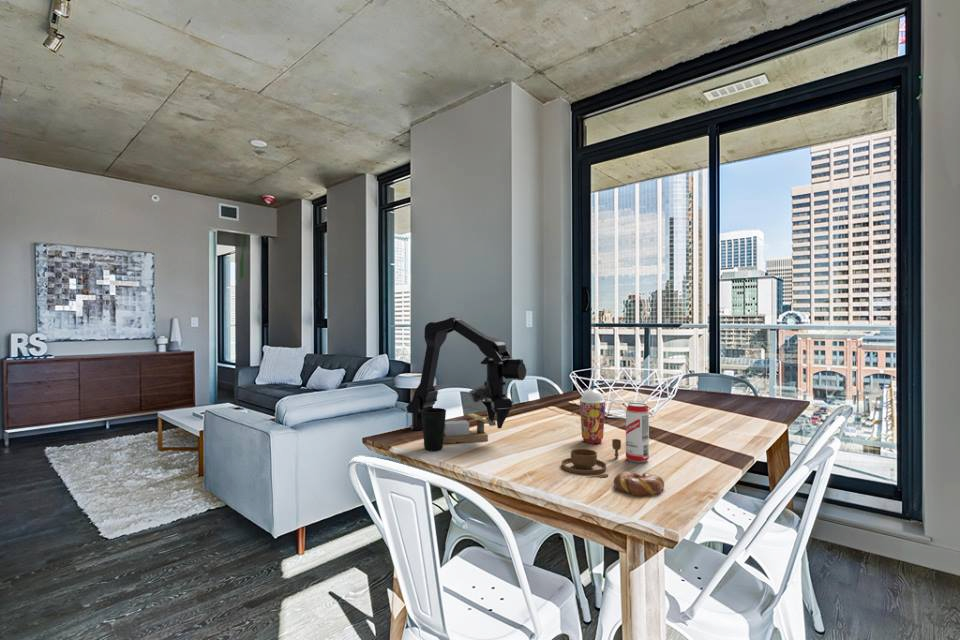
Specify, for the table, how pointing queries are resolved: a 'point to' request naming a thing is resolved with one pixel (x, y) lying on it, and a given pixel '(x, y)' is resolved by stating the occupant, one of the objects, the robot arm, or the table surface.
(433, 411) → the cup
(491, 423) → the lever
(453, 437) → the plane body
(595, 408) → the smoothie
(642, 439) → the beer can
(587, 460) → the place setting
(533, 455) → the table surface
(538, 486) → the table surface
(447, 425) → the grey block
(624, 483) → the pretzel
